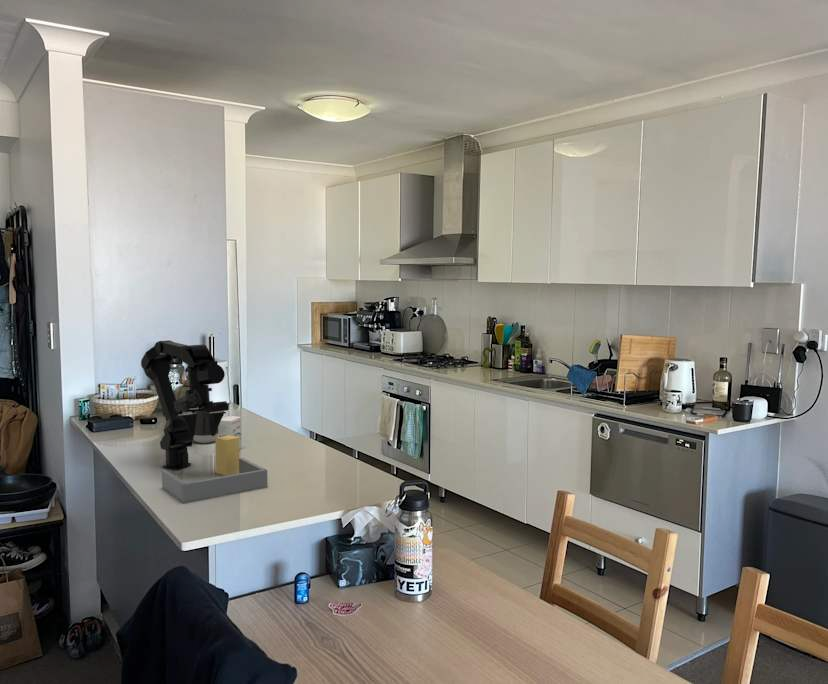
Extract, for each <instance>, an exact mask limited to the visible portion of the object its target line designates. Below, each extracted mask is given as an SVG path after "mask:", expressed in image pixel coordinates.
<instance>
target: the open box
mask: <svg viewBox="0 0 828 684" xmlns="http://www.w3.org/2000/svg"><path fill="white" fill-rule="evenodd" d="M161 477H162V478H161V481H162V482H161V484H162V485H161V487H162V489H163V490H164V491H166V492H167V493H168V494H170V495H171V496H172V497H174V498H175V499H177V500H178V501H179V502H181V503H182V504H186V503H187V504H188V503H192V502H198V501H204V500H208V499H212V498H219V497H222V496H223V497H224V496H229V495H234V494H239V493H245V492H249V491H250V492H251V491H255V490H261V489H266V488H268V469H266V468H264V467H263V466H260V465H258V464H256V463H254V462H252V461H250V460H248V459H246V458H244V457H239V473H235V474H231V475H228V476H225V475H222V476H218V477H212V478H206V479H200V480H195V481H191V482H185V481H183V480H181V479H180V478H178V477H177V476H176V475H175V474H173V473H171V472H170V471H169V470H167V469H164V470H163V469H162V470H161Z"/></svg>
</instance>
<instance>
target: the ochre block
mask: <svg viewBox="0 0 828 684" xmlns="http://www.w3.org/2000/svg"><path fill="white" fill-rule="evenodd" d="M214 442H215V474H218V475H222V476H229V475H234V474H239V458H240V449H239V437H235V436H230V435H227V436H222V437H219V436H218V437H217V438H215V441H214Z"/></svg>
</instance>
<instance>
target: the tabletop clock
mask: <svg viewBox="0 0 828 684" xmlns="http://www.w3.org/2000/svg"><path fill="white" fill-rule="evenodd" d="M184 373H185V374H184V375H185V379H184V381H182V384H181V385H180V386H178V387H176V388H175V389H173V392H174V395H175V398H176V400H178V399H179V398H181V397H183V396H185V395H186V390H189V378H188V372H185V371H184ZM192 414H195V413H192Z"/></svg>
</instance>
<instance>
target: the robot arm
mask: <svg viewBox="0 0 828 684" xmlns="http://www.w3.org/2000/svg"><path fill="white" fill-rule="evenodd" d="M174 357H176V358H180V361H181V362H182V363H184V364H186V365H187V366H186V368H185V369H184V373H185V372H187V375H188V378H189V390H186V395H185V396H183V397H181V398H179V399H178V400H176V398H175V395H174V392H173V390H174V389H173V386H172V384H171V383H172V382H171V380H170V377H169V375H170V371H171V363H172V362H173V360H174ZM140 364H141V368H142V369H143V372H144V374H145V376H147V377H148V378H149V379H150V380H151V381H152V382H153V385H154V388H155V390H156V394H157V397H158V400H159V403H160V406H161V409H162V412H163V415H164V418H165V425H164V427H163V433H164V435H163V436H162V438H161V440H160V442H159V446H160V449H162V450H163V451H165V464H163V465H162V468H164V469H173V470H180V469H183V468H186V467H188V466H192V463H191V462H189V451H188V448H189V447H192V446H193V441H194V438H193V437H194V435H195V428H196V420H197V414H192V413H195V412H196V411H206V412H210V413H208V414H205V415H206V416H207V417H208V419H209V425H210V432H211V436H215V434H216V431H217V429H218V426H219V424H220V421H221V419H222V418H224V415H225V414H227V411H229V409H230V408H229V403H228V402H227V401H226V400H223V401H213V400H212V401H211V400H210V399H211V398H210V392H212V391H213V388H212V387H209V385H215V384H216V385H217V384H219V383H222V382H223V380H224V379H225V371H224V368H223V367H222V366H221V365H219V364H218V360H216V359H215V357H214V356H213V355H212V353H211V351H210V350H209V348H208V346H207V345H206V344H192V345H188V344H185V343H184V344H183V343H179V342H175V341H173V340H158V341H157V342H155V344H154V346H153V347H151V348H150V349H149V350H147V351H146V352H145V353H144V355H143V357H142V358H141V360H140ZM202 406H204V407H202ZM197 407H198V408H197ZM203 408H204V409H203Z"/></svg>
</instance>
